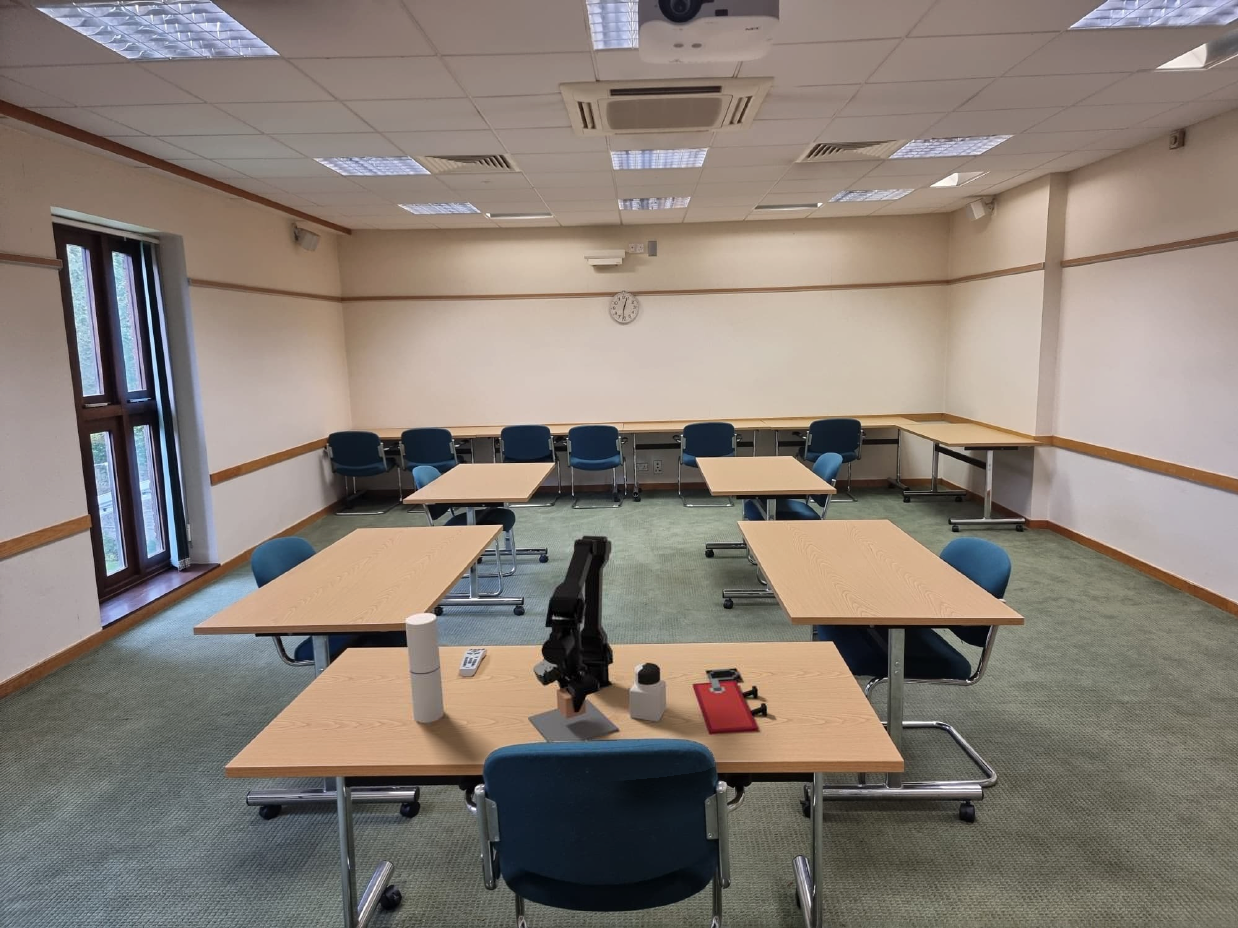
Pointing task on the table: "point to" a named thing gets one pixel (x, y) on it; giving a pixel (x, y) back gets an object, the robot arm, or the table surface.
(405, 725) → the table surface
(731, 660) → the table surface
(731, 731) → the red board with handle
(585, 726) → the gray mat
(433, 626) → the cylindrical container
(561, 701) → the terracotta cube
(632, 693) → the medicine bottle
